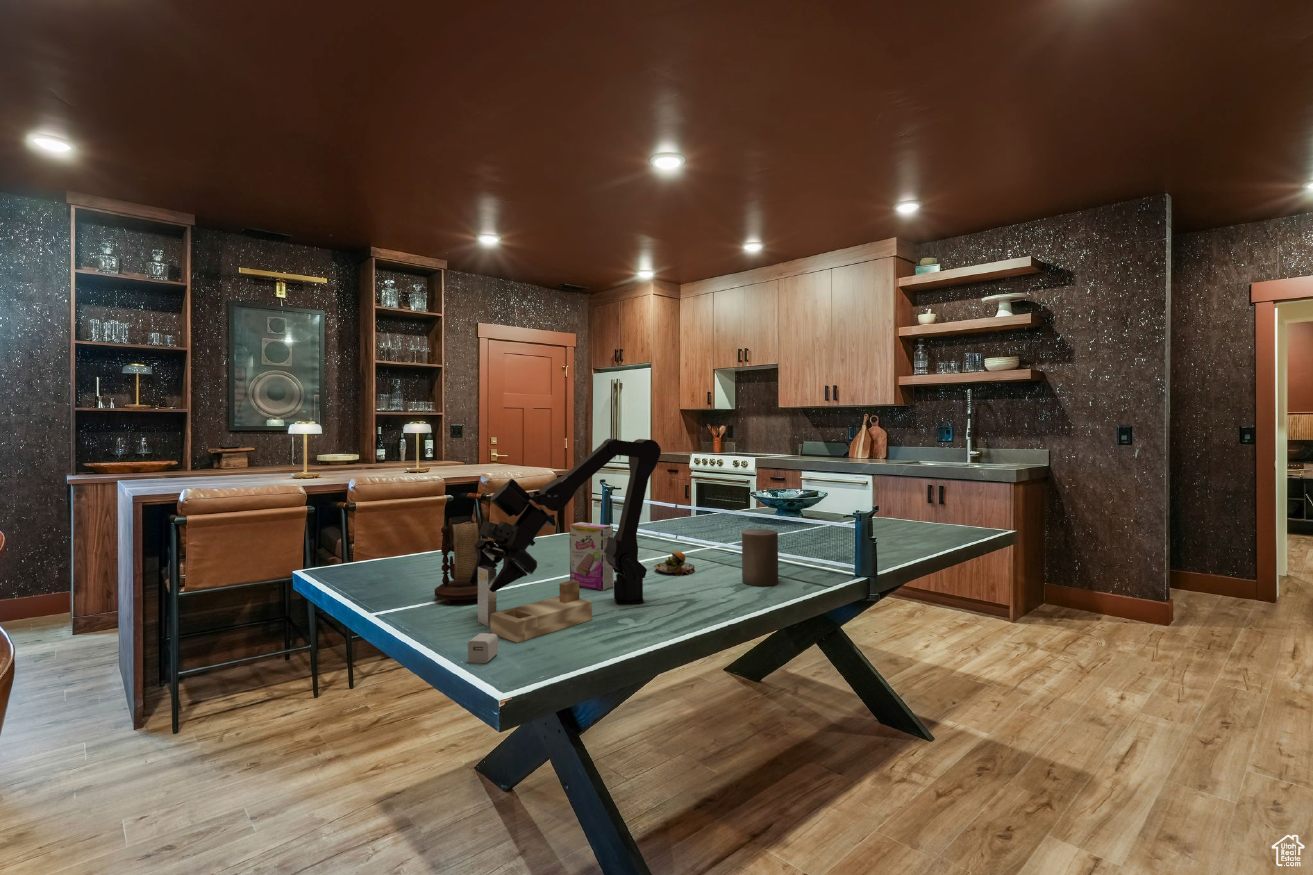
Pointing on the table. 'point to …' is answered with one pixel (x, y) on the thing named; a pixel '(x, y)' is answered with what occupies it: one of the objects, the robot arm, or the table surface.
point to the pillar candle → (760, 557)
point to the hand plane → (543, 615)
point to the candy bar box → (590, 555)
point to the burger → (675, 565)
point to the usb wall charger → (482, 648)
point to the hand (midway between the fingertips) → (480, 587)
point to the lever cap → (486, 594)
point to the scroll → (459, 561)
